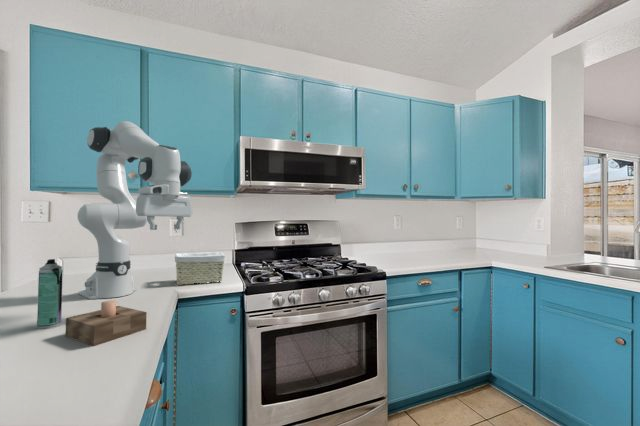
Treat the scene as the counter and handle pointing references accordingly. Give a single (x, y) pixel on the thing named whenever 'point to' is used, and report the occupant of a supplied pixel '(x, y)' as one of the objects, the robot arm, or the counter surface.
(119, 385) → the counter surface
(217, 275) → the storage basket
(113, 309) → the pin
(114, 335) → the bore block
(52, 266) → the spray can
